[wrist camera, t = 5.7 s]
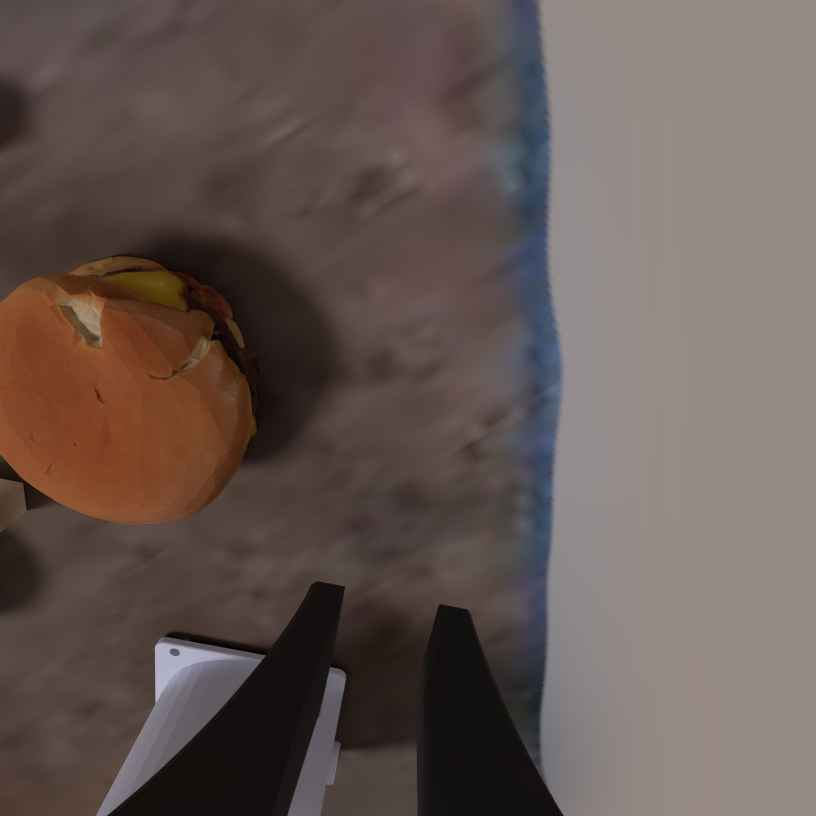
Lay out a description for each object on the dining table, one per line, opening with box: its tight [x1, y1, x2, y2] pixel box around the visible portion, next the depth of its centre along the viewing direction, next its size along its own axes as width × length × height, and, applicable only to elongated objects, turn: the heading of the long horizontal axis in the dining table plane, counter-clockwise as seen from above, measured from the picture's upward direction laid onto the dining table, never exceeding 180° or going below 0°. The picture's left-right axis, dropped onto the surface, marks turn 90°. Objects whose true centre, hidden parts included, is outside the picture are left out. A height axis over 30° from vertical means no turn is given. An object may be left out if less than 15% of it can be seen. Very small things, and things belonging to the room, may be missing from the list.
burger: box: [0, 256, 260, 525], centre depth 19 cm, size 10×9×5 cm
